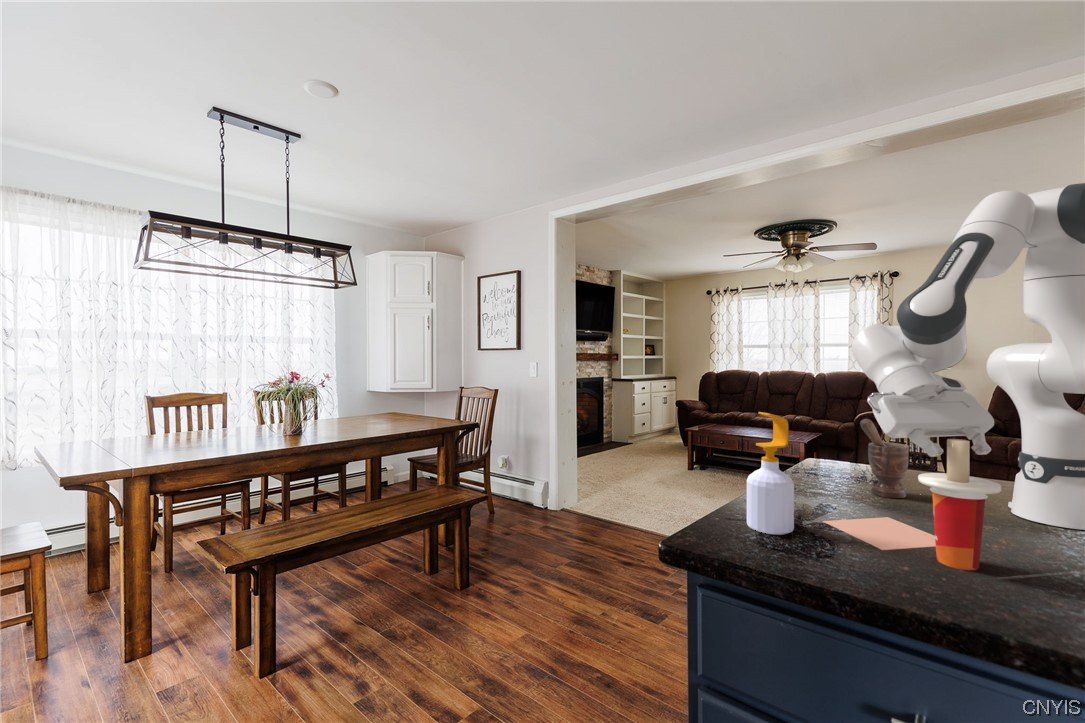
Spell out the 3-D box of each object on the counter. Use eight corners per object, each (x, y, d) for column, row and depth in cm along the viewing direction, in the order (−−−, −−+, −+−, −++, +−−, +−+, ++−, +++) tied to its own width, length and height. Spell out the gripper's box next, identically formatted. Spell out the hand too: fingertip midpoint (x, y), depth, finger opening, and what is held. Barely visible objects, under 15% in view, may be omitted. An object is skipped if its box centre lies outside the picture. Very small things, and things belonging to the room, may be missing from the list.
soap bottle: (737, 522, 108) (737, 410, 108) (773, 519, 110) (773, 409, 110) (766, 537, 99) (766, 415, 99) (803, 533, 102) (804, 414, 101)
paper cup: (958, 555, 90) (959, 479, 90) (999, 574, 82) (1000, 490, 82) (917, 556, 90) (918, 479, 89) (955, 575, 82) (955, 491, 82)
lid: (953, 476, 92) (954, 434, 92) (1019, 492, 81) (1019, 444, 81) (902, 478, 90) (902, 436, 90) (962, 495, 79) (963, 447, 79)
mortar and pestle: (890, 503, 121) (890, 422, 121) (854, 494, 129) (854, 418, 128) (915, 496, 127) (915, 419, 126) (879, 488, 134) (879, 415, 134)
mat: (887, 518, 110) (887, 517, 110) (957, 546, 94) (957, 544, 94) (822, 522, 108) (822, 521, 108) (882, 552, 92) (882, 549, 92)
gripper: (872, 382, 91) (920, 445, 81) (969, 380, 94) (1025, 441, 84) (853, 404, 95) (896, 466, 86) (946, 402, 98) (998, 461, 89)
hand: (961, 453), depth 85 cm, fingers open, 8 cm apart
